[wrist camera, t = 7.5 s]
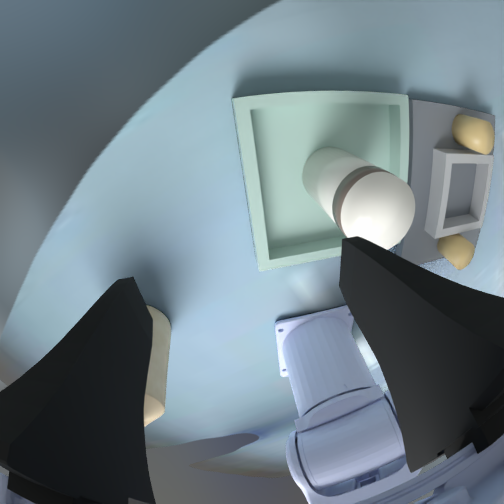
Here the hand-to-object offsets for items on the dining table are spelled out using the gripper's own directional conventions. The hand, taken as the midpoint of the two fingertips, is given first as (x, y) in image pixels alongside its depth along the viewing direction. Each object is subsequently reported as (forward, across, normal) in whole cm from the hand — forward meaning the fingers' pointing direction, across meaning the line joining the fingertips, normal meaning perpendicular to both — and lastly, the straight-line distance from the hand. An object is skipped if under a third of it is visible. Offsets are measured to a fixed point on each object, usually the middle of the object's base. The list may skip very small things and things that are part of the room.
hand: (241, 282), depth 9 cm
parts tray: (+10, -7, 0) cm, 13 cm away
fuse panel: (+10, -20, +2) cm, 23 cm away
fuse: (+10, -7, 0) cm, 12 cm away
